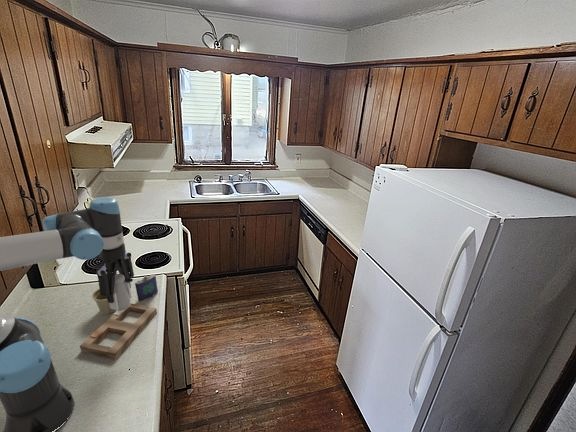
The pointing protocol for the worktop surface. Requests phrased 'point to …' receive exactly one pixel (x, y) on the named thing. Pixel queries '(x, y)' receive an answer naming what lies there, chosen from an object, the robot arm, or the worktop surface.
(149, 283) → the flask
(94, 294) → the flower pot
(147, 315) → the socket board
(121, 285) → the salt shaker
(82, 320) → the worktop surface
